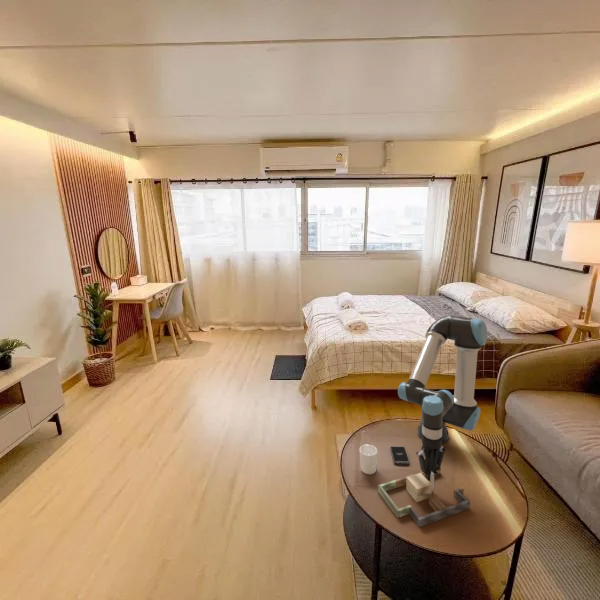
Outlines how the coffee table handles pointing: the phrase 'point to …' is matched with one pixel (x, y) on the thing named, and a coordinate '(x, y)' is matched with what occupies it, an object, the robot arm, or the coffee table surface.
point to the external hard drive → (399, 455)
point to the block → (418, 487)
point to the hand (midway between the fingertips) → (430, 485)
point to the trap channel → (434, 502)
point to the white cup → (368, 458)
